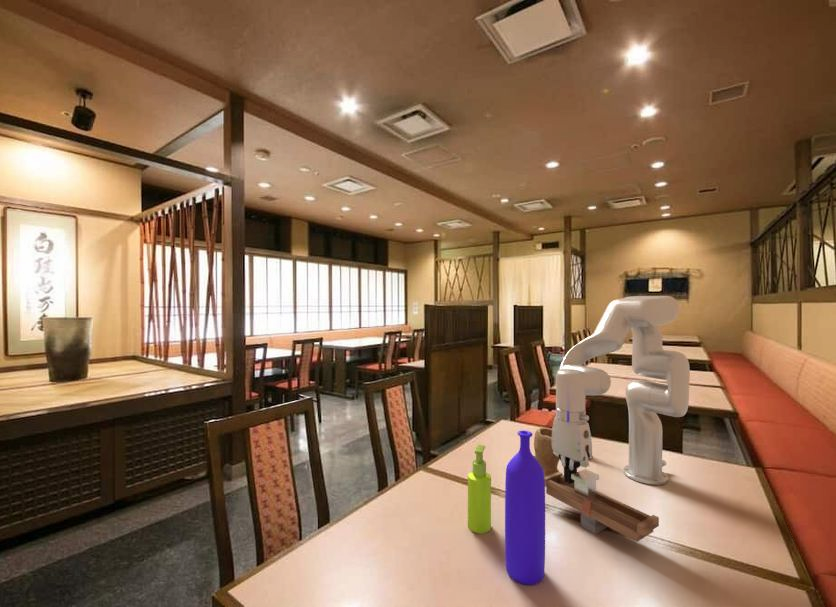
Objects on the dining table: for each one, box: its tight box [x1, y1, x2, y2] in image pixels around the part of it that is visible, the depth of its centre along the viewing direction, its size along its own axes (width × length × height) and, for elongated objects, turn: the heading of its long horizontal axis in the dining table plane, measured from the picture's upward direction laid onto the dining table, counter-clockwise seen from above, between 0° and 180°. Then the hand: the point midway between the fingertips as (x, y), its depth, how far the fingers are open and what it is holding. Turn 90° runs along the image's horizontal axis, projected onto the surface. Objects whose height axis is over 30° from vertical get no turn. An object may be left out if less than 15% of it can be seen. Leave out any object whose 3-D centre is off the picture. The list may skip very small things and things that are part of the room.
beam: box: [544, 471, 660, 543], centre depth 97 cm, size 7×27×8 cm, turn 32°
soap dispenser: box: [467, 444, 492, 534], centre depth 97 cm, size 6×7×20 cm
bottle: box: [504, 430, 546, 586], centre depth 80 cm, size 8×8×30 cm
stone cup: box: [533, 427, 561, 477], centre depth 126 cm, size 15×12×15 cm
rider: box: [571, 468, 600, 501], centre depth 99 cm, size 6×4×6 cm, turn 122°
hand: (570, 481), depth 103 cm, fingers closed
